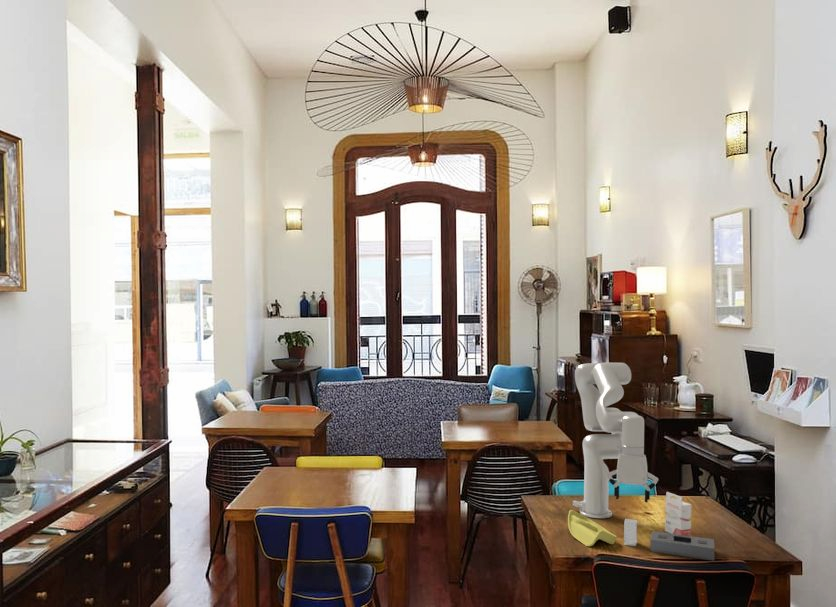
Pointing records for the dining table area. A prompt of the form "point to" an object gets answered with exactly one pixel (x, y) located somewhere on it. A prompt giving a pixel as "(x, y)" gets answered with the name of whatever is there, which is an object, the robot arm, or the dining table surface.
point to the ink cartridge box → (677, 515)
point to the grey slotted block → (682, 545)
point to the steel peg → (630, 532)
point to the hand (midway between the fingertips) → (631, 499)
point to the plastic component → (588, 530)
